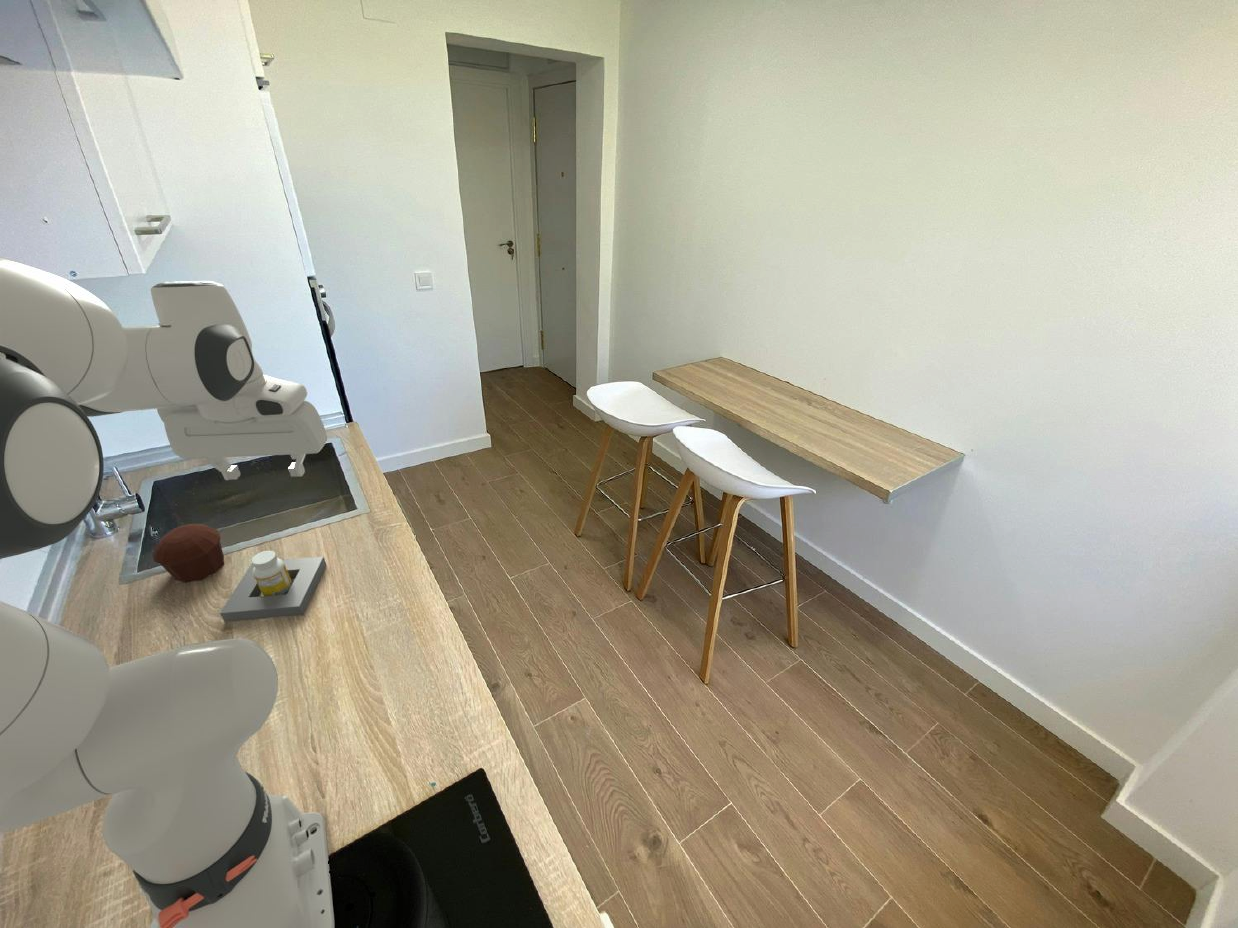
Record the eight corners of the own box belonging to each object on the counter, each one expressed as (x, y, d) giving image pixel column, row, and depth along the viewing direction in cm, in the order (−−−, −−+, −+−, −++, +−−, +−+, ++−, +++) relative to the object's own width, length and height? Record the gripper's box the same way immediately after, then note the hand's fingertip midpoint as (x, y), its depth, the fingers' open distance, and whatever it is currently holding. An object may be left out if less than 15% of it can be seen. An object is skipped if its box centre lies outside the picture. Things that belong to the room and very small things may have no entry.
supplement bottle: (284, 602, 101) (268, 567, 96) (258, 600, 102) (240, 566, 96) (299, 582, 106) (285, 548, 101) (274, 581, 106) (258, 547, 101)
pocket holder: (326, 564, 111) (323, 556, 109) (303, 614, 99) (299, 606, 98) (256, 570, 109) (252, 561, 107) (224, 621, 97) (219, 613, 96)
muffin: (180, 554, 112) (160, 519, 106) (238, 545, 115) (221, 510, 109) (157, 593, 102) (133, 556, 97) (221, 582, 105) (201, 546, 100)
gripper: (137, 408, 68) (181, 491, 75) (301, 403, 71) (327, 484, 79) (165, 389, 73) (204, 468, 81) (316, 385, 76) (340, 462, 84)
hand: (266, 476), depth 80 cm, fingers open, 8 cm apart
